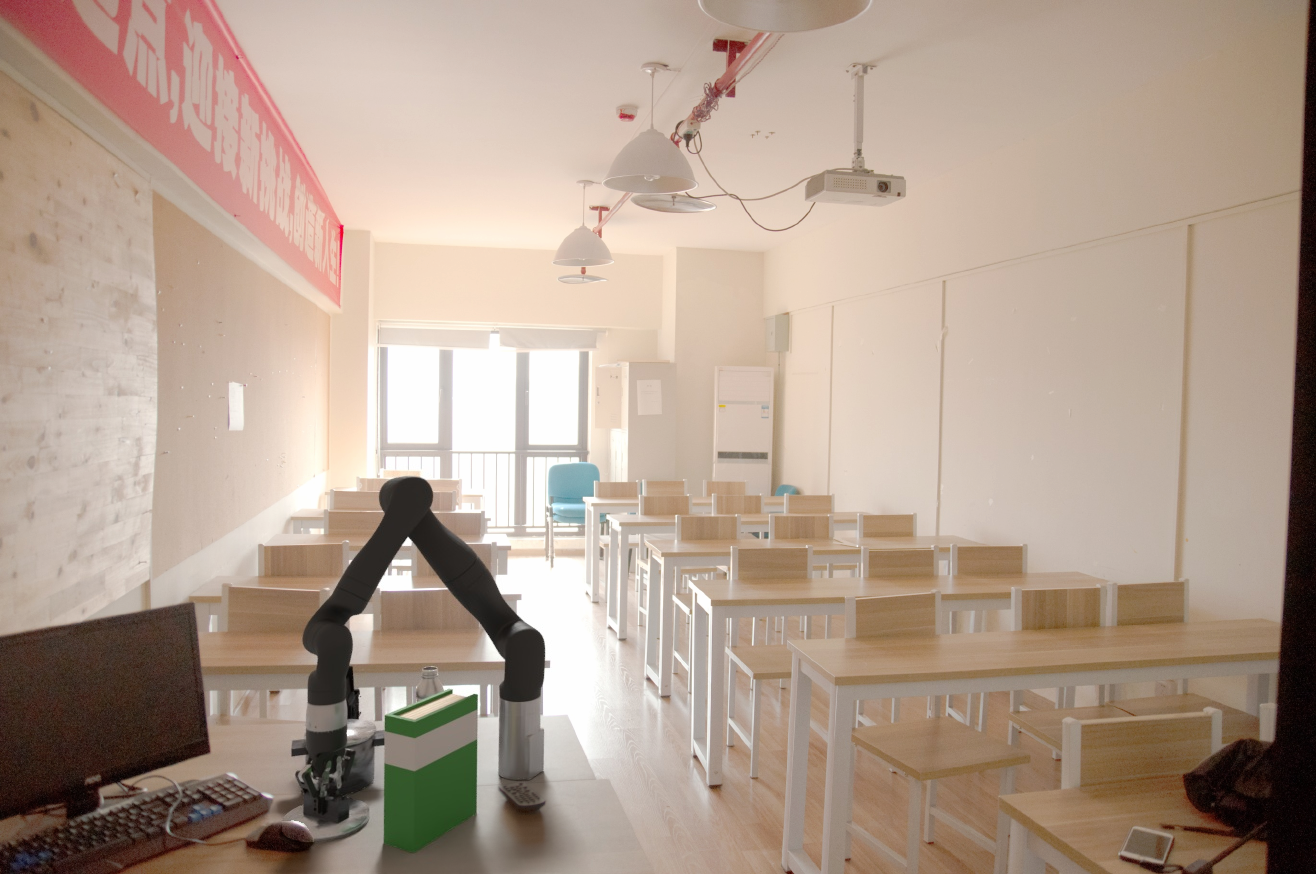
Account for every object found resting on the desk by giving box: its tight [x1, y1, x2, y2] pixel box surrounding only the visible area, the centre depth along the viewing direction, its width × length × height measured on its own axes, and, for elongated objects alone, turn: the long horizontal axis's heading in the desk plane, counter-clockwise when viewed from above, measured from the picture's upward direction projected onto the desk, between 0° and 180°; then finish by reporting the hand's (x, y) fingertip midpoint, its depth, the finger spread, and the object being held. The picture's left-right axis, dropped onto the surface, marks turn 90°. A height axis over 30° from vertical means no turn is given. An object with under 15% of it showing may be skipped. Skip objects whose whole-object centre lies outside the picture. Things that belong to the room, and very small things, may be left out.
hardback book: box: [383, 688, 479, 854], centre depth 162 cm, size 18×7×24 cm, turn 153°
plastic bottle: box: [414, 666, 445, 702], centre depth 198 cm, size 6×7×20 cm
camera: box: [346, 665, 362, 720], centre depth 200 cm, size 10×14×20 cm
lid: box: [281, 789, 370, 843], centre depth 164 cm, size 16×16×5 cm
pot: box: [290, 719, 385, 796], centre depth 182 cm, size 19×15×11 cm
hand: (326, 810), depth 164 cm, fingers closed on lid, 3 cm apart
